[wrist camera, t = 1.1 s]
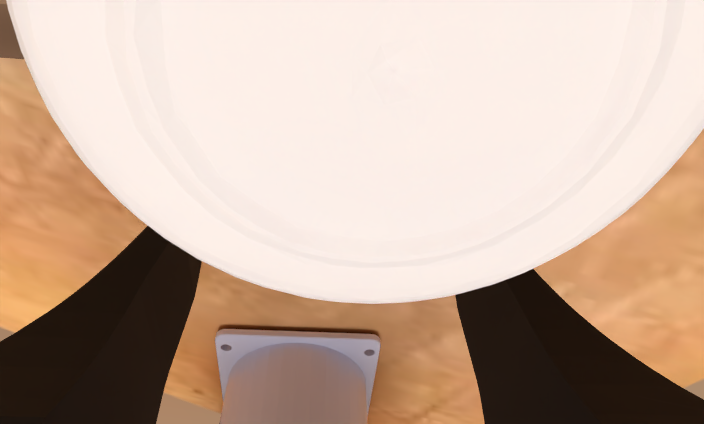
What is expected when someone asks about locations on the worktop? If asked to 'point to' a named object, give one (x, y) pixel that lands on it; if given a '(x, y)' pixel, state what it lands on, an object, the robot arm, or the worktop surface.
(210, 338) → the worktop surface
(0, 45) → the brown square frame
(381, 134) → the spice jar
